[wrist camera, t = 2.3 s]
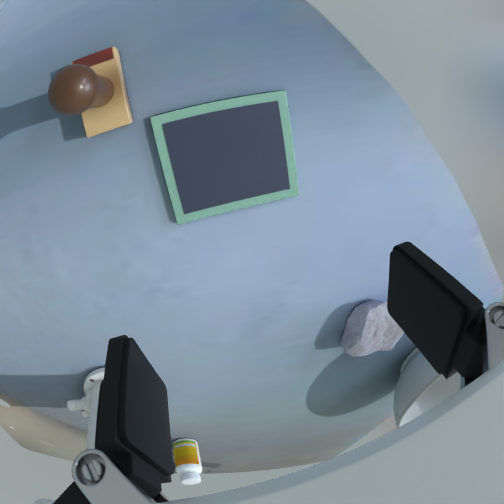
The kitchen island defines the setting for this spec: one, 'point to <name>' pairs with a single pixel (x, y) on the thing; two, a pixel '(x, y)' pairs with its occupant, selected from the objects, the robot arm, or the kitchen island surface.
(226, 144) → the ink pad
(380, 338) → the stone block
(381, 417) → the kitchen island surface
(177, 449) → the supplement bottle
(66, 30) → the kitchen island surface
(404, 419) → the decorative bowl
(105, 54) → the stamp
